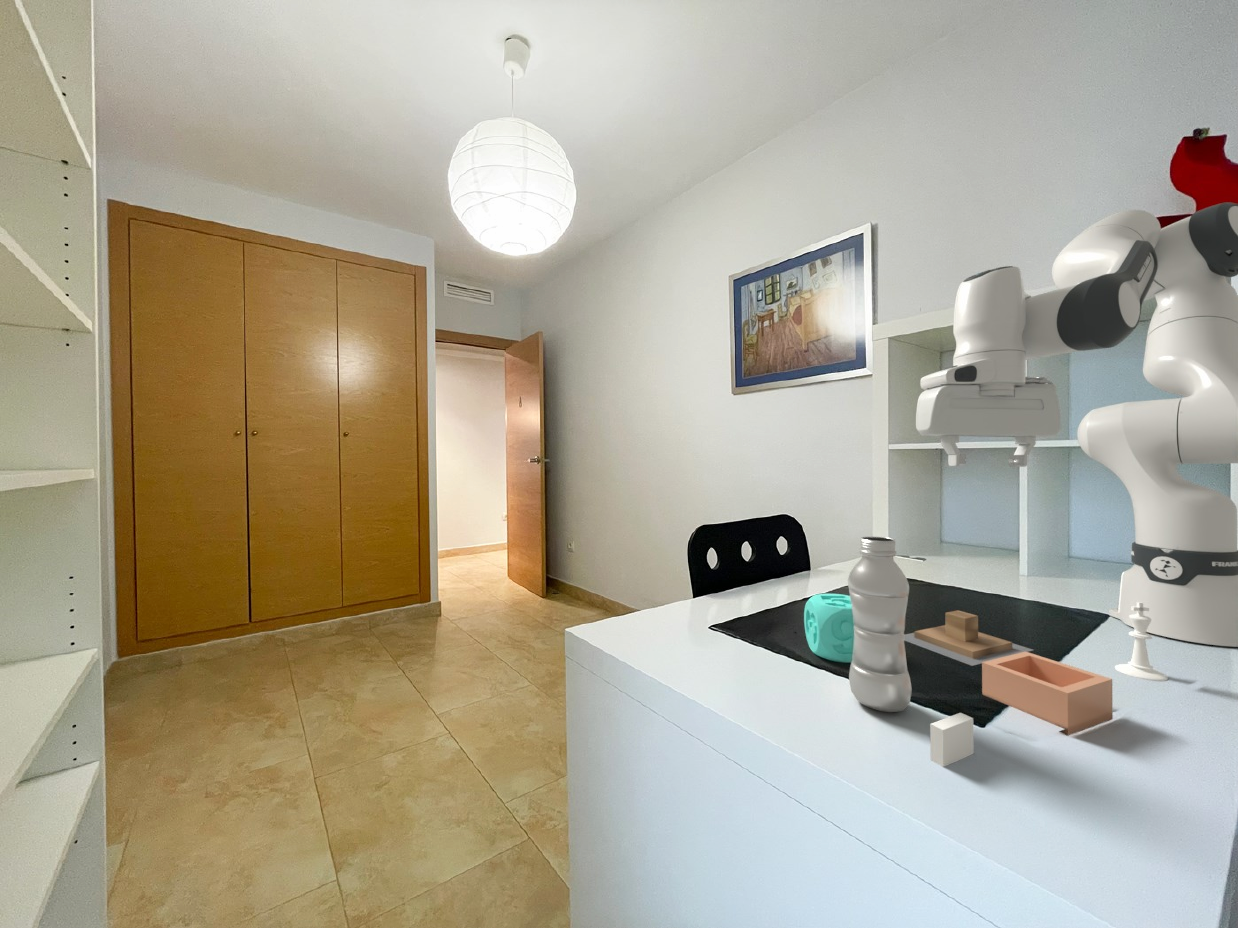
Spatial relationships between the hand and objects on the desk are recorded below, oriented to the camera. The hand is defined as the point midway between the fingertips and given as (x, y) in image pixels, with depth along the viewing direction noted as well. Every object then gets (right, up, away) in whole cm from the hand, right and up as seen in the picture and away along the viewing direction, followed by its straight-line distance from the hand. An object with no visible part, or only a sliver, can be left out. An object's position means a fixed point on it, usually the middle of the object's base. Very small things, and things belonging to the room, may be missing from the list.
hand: (987, 466), depth 73 cm
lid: (-3, -28, +2) cm, 28 cm away
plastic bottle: (-25, -29, -16) cm, 41 cm away
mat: (-3, -28, +2) cm, 28 cm away
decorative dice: (-23, -29, 0) cm, 37 cm away
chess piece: (+13, -28, -9) cm, 33 cm away
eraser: (-23, -29, -26) cm, 45 cm away
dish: (-6, -28, -17) cm, 34 cm away
